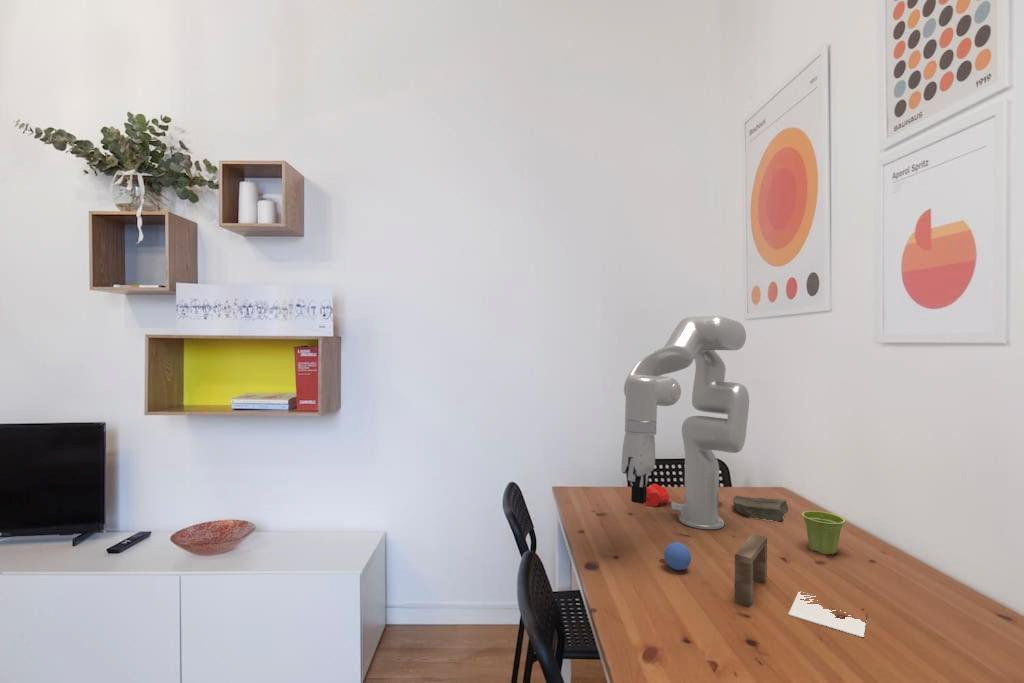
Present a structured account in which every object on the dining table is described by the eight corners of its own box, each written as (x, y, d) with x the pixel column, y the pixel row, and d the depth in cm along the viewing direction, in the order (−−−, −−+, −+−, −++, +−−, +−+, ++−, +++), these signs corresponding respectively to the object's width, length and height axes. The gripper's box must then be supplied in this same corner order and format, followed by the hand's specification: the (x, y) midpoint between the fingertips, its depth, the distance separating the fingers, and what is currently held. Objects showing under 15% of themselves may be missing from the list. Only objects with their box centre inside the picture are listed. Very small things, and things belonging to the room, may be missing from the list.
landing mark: (788, 615, 97) (788, 614, 97) (798, 592, 106) (798, 591, 106) (863, 638, 89) (863, 637, 89) (867, 611, 99) (867, 610, 99)
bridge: (734, 601, 101) (734, 554, 102) (752, 576, 113) (752, 533, 113) (750, 606, 100) (750, 558, 100) (766, 580, 111) (767, 536, 111)
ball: (659, 569, 116) (660, 543, 116) (669, 561, 121) (669, 536, 121) (685, 577, 112) (686, 550, 112) (694, 568, 117) (694, 542, 117)
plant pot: (851, 559, 123) (851, 524, 124) (809, 555, 125) (810, 521, 125) (835, 545, 133) (835, 512, 133) (796, 541, 135) (796, 509, 135)
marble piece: (787, 511, 162) (787, 498, 162) (795, 526, 148) (795, 511, 148) (731, 504, 168) (731, 491, 168) (734, 518, 154) (734, 504, 154)
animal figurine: (670, 496, 175) (670, 482, 176) (670, 509, 161) (670, 493, 161) (636, 493, 179) (636, 478, 179) (633, 504, 165) (633, 489, 165)
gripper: (638, 422, 131) (637, 493, 130) (612, 428, 119) (610, 505, 119) (666, 426, 126) (665, 499, 126) (642, 432, 114) (640, 512, 114)
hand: (638, 502), depth 122 cm, fingers closed
